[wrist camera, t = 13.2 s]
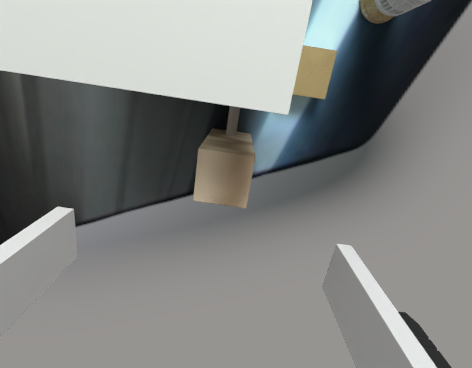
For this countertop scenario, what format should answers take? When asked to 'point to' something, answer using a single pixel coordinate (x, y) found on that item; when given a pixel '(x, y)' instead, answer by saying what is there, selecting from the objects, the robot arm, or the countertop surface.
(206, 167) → the wooden rectangular block
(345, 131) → the countertop surface
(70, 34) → the cabinet
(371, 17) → the sprinkles bottle
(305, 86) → the small wooden block
